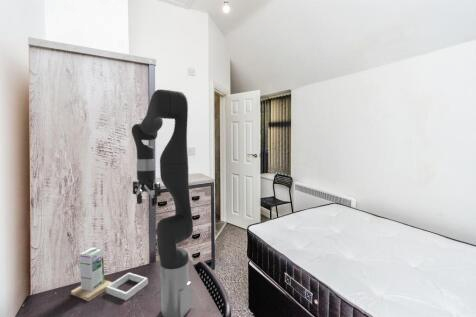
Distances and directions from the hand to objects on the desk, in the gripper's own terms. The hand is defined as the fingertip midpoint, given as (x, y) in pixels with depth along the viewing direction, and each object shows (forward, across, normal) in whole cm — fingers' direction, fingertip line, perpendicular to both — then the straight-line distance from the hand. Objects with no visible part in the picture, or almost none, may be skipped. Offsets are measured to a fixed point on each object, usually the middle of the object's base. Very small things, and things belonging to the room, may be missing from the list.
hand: (146, 204), depth 102 cm
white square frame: (+30, +3, -14) cm, 33 cm away
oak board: (+30, -9, -20) cm, 37 cm away
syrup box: (+29, -9, -20) cm, 36 cm away
